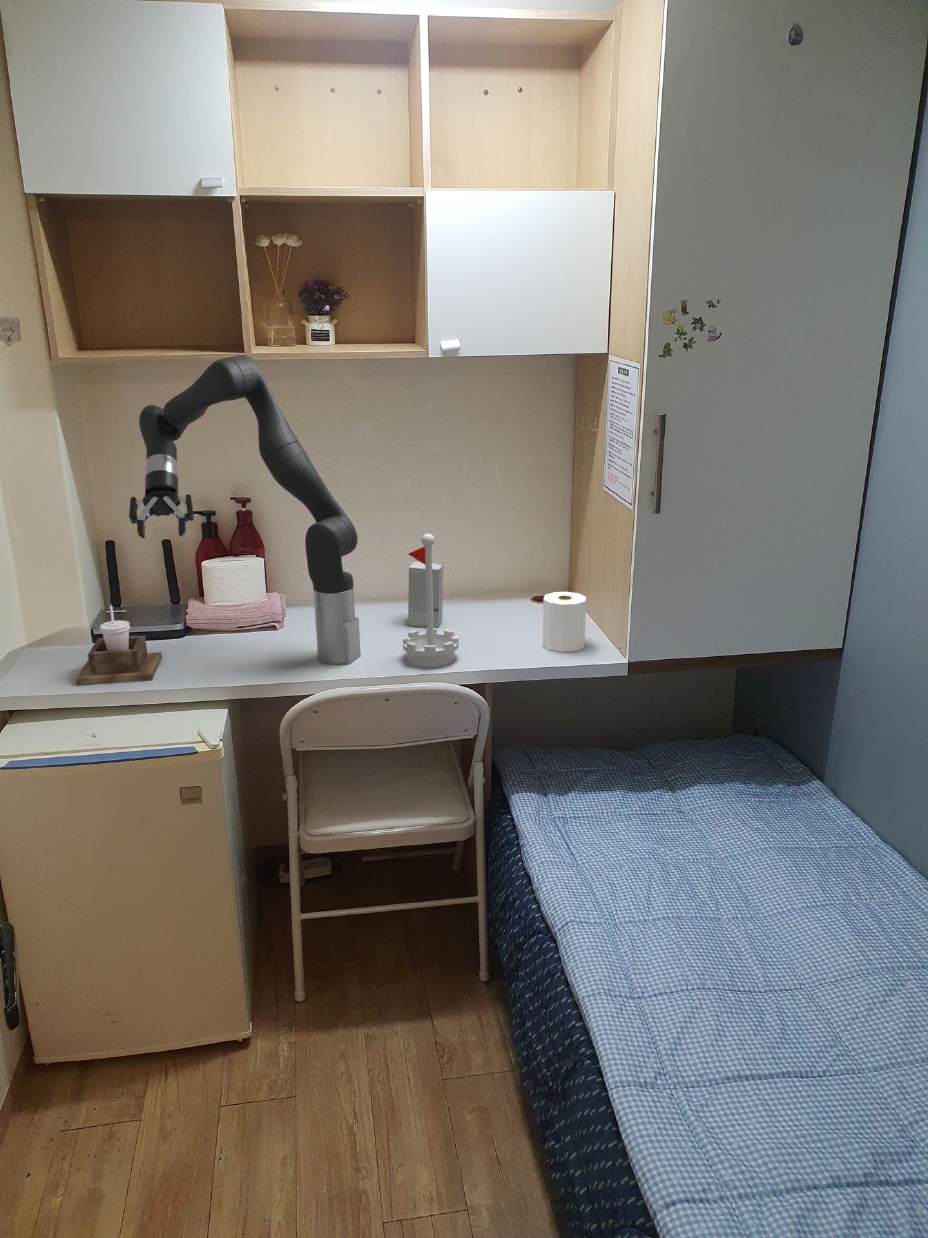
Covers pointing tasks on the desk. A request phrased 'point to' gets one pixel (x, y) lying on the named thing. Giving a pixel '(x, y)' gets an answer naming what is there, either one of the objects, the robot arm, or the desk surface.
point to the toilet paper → (564, 621)
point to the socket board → (119, 663)
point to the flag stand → (429, 623)
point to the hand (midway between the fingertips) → (161, 535)
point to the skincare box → (424, 594)
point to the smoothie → (115, 634)
